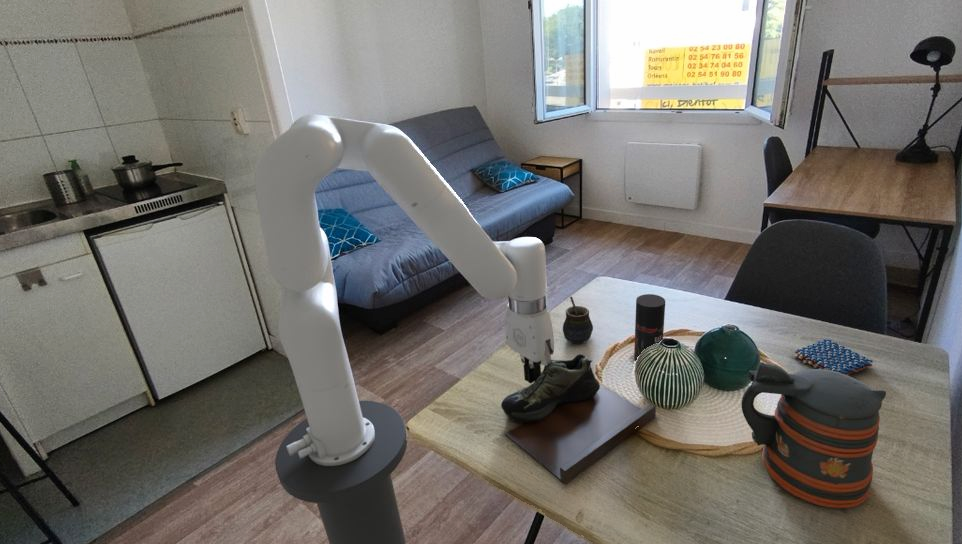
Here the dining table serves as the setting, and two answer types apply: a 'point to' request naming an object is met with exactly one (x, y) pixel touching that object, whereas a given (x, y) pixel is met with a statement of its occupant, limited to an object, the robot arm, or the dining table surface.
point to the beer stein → (816, 433)
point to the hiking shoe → (552, 390)
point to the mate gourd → (577, 324)
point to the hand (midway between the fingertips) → (533, 378)
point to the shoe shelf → (581, 432)
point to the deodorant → (648, 322)
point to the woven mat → (833, 357)
